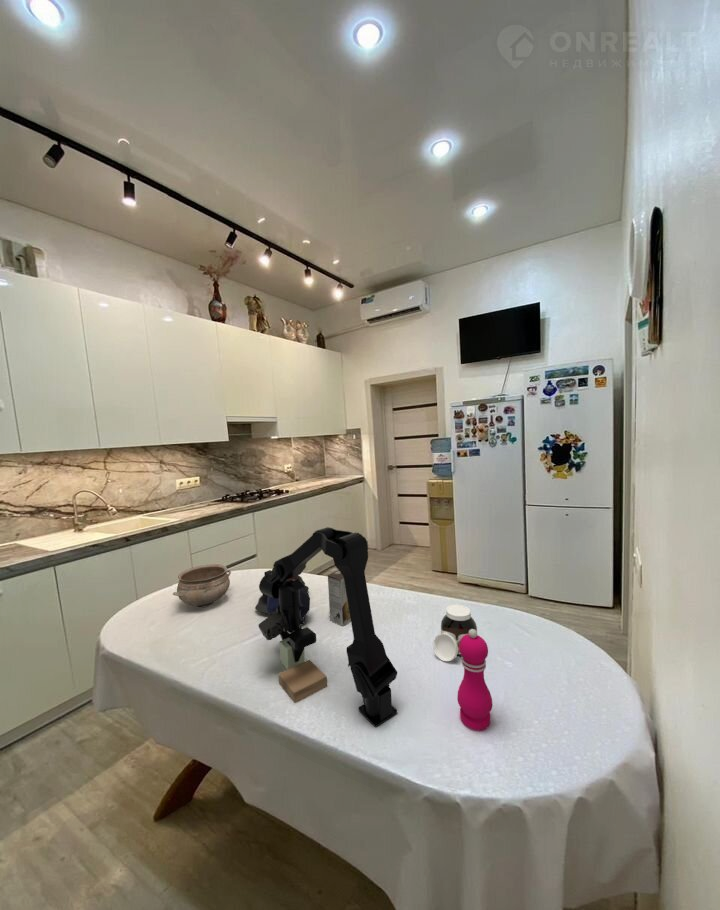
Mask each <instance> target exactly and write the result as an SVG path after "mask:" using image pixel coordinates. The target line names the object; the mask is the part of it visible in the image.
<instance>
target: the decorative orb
mask: <svg viewBox="0 0 720 910" xmlns="http://www.w3.org/2000/svg"><path fill="white" fill-rule="evenodd" d="M308 591H309V590H308ZM308 591H307V588H306V587H304V588H302V589H300V604H302V605H303V610H301V618H302V619H303V620H304V619H305V617H306V615H307V614H308V613H309V612H310V608H311V607H310V606H311V597H310V594H309V592H308ZM278 605H279V598H277V599H276V598H273V597H270V596H268V600H267V610H268V613H267V614H268V616H269V615H270V613H271V612H274V611H276V608H277V606H278Z"/></svg>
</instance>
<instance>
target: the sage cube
mask: <svg viewBox="0 0 720 910" xmlns="http://www.w3.org/2000/svg"><path fill="white" fill-rule="evenodd" d="M287 641H289V638H287V639H284V640H282V639H281V640H280V641H279V653H280V655H279V657H280V663H281V664H282V665H283V666H284V668H285V669H286V670H288V669H290V668H292V667H294V666H297V665H299V664H301V663H303V662H305V660H306V659H305V658H306V657H305V656H306V655H305V649H304V650H303V652H302V655H301V657H300V659H299V661H298V662H295V661H294V657H293V651H292V647H291V646H290V645H289V644H288V643H287Z"/></svg>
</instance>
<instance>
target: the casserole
mask: <svg viewBox="0 0 720 910" xmlns="http://www.w3.org/2000/svg"><path fill="white" fill-rule="evenodd" d="M290 579H292V580H297V579H299V581H300V582H301V583H303V584H304V586H305V587H306V588H307V591H309V590H310V589H309V588H310V587H309V586H307V585H306V582H305V581H304V580H303V578H302V576H301V575H298V576H295V577H293V578H290ZM288 580H289V579H288ZM261 594H262V595H260V597H259V598H258V601H257V604H256V606H255V607H254V608H255V610H256V611H257V612H260V613H265V614H269V613H268V610H267V600H268V595H266V594H263V593H261Z"/></svg>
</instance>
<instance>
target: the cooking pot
mask: <svg viewBox="0 0 720 910" xmlns="http://www.w3.org/2000/svg"><path fill="white" fill-rule="evenodd" d="M231 574H232V571H231V570H229V569H228V568H227V566H226V565H223V564H216V563H215V564H213V563H212V564H204V565H198V566H194V567H191V568H188V569H186V570H184V571H182V572H181V573H179V574H178V583H177V589H176V591H174V592H172V595H173V596H175V597H178V599H179V600H180V601H181V602H183V603H184V604H185V605H190V606H194V607H198V608H204V607H207V606H210V605H213V604H214V603H216V602H217V601H219V599H222V597H224V595H226V593H227V592H228V590H229V588H230V584H231V580H230V575H231Z"/></svg>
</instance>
